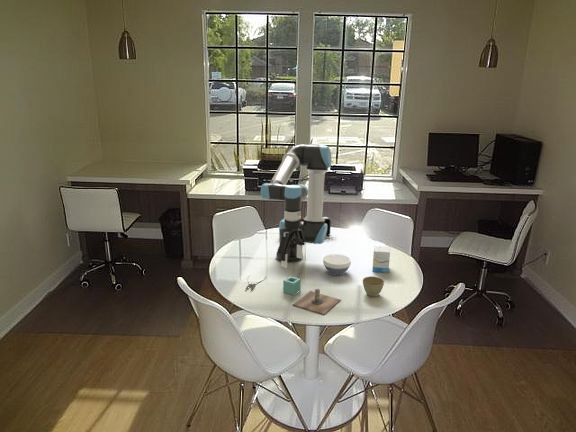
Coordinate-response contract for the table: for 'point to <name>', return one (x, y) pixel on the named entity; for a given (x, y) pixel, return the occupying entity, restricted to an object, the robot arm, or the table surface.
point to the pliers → (251, 286)
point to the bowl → (336, 264)
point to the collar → (291, 285)
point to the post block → (317, 302)
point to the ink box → (381, 259)
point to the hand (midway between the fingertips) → (292, 262)
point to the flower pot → (373, 285)
